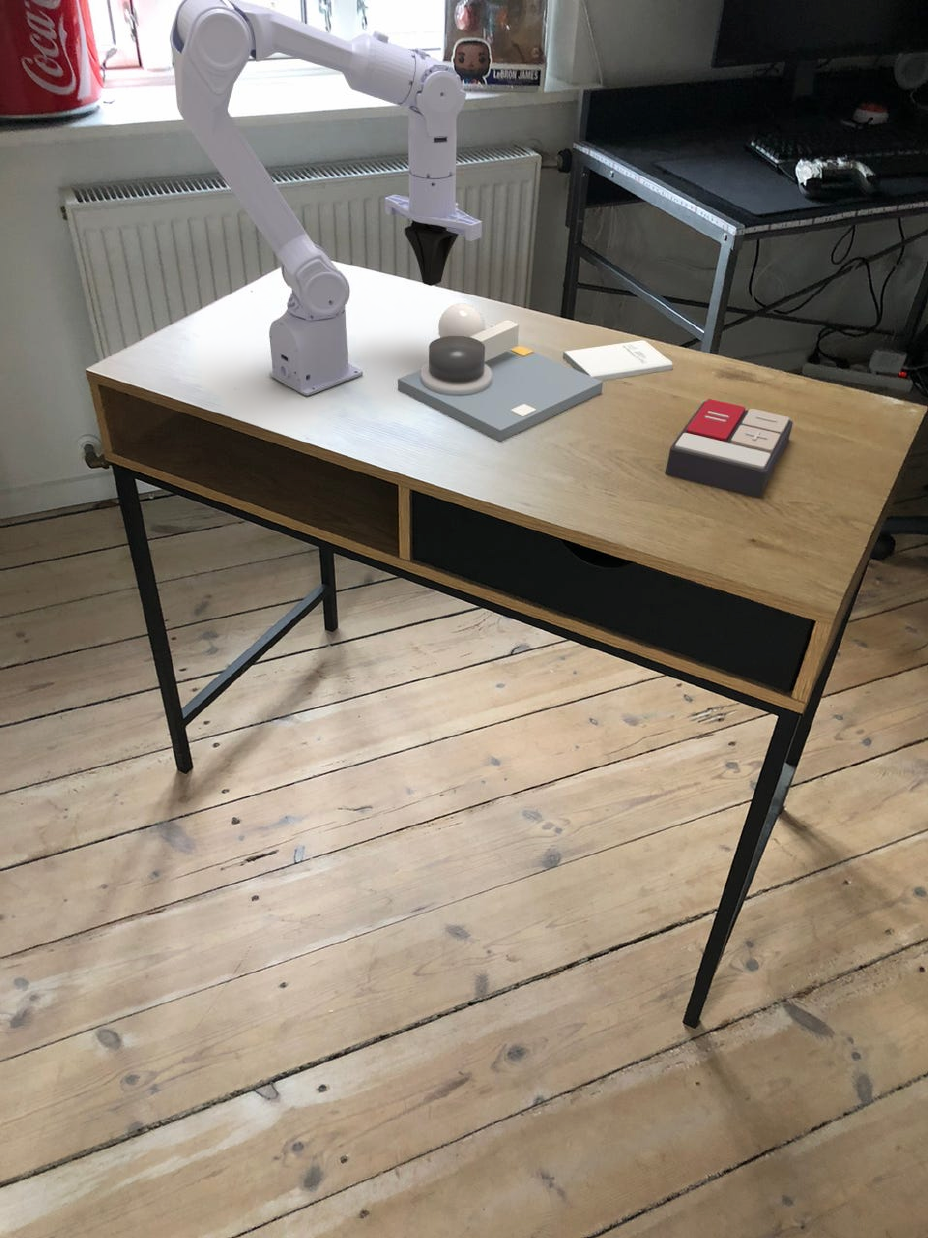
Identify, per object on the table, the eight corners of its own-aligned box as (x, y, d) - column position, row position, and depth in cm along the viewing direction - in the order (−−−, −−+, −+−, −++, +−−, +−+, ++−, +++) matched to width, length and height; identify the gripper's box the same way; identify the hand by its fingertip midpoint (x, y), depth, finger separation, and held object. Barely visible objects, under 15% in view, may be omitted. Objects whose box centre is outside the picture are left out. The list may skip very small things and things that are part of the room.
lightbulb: (455, 351, 147) (467, 365, 138) (421, 321, 145) (432, 334, 135) (484, 316, 146) (498, 328, 136) (451, 286, 144) (463, 296, 134)
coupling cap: (458, 387, 126) (459, 364, 124) (417, 369, 129) (417, 347, 127) (532, 351, 134) (534, 329, 132) (491, 335, 138) (492, 314, 136)
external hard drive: (562, 361, 140) (641, 348, 144) (589, 387, 134) (671, 373, 138) (563, 350, 139) (643, 337, 143) (591, 375, 133) (673, 361, 137)
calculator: (795, 414, 122) (768, 466, 110) (787, 447, 124) (759, 500, 113) (705, 394, 125) (670, 441, 114) (698, 426, 128) (663, 476, 117)
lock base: (499, 441, 121) (501, 422, 120) (398, 389, 131) (397, 371, 129) (601, 392, 132) (603, 374, 130) (500, 347, 142) (501, 330, 140)
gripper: (499, 177, 122) (495, 288, 131) (411, 152, 129) (412, 260, 138) (460, 190, 118) (458, 304, 126) (371, 164, 125) (375, 274, 134)
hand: (432, 282), depth 132 cm, fingers closed
